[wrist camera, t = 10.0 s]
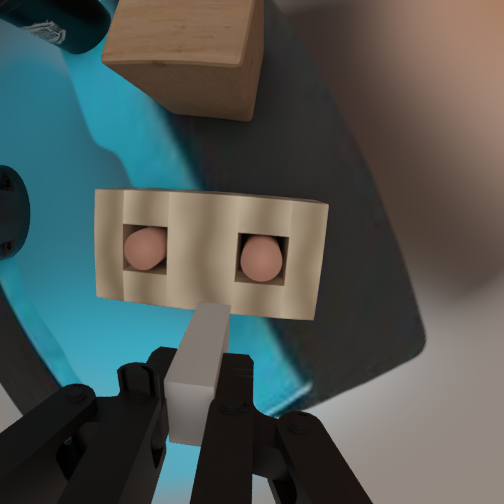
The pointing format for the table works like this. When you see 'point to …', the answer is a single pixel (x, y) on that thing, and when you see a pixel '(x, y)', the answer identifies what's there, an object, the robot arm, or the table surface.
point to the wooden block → (190, 53)
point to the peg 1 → (146, 247)
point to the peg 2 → (261, 257)
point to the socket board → (210, 249)
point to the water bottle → (60, 21)
